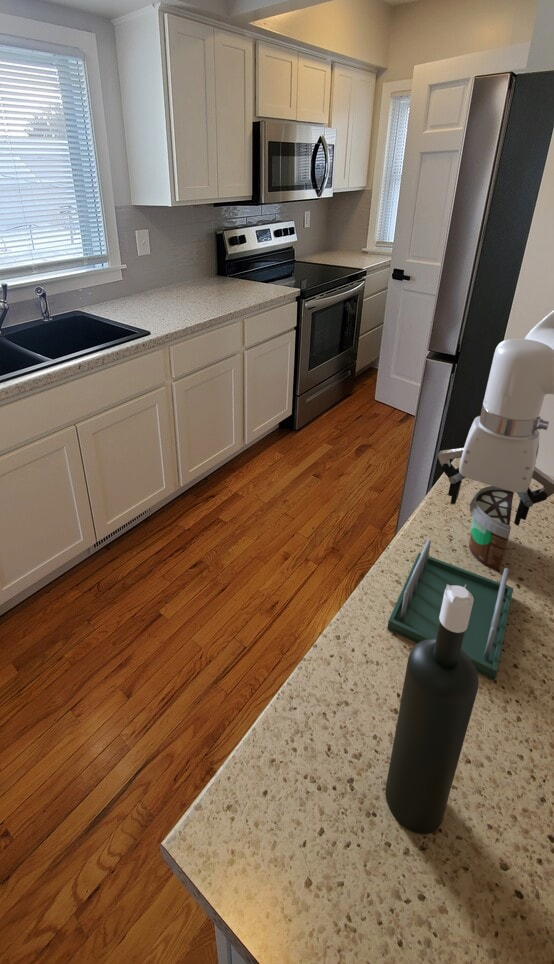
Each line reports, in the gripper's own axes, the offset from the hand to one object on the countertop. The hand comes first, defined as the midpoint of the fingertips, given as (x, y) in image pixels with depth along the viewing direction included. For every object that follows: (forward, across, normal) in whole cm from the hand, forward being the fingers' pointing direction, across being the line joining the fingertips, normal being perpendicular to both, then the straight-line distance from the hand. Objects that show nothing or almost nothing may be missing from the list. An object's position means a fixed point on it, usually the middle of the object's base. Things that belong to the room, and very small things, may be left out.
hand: (484, 509), depth 81 cm
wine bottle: (+9, -2, +44) cm, 44 cm away
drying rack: (+8, 0, +17) cm, 19 cm away
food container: (+8, -1, 0) cm, 8 cm away
